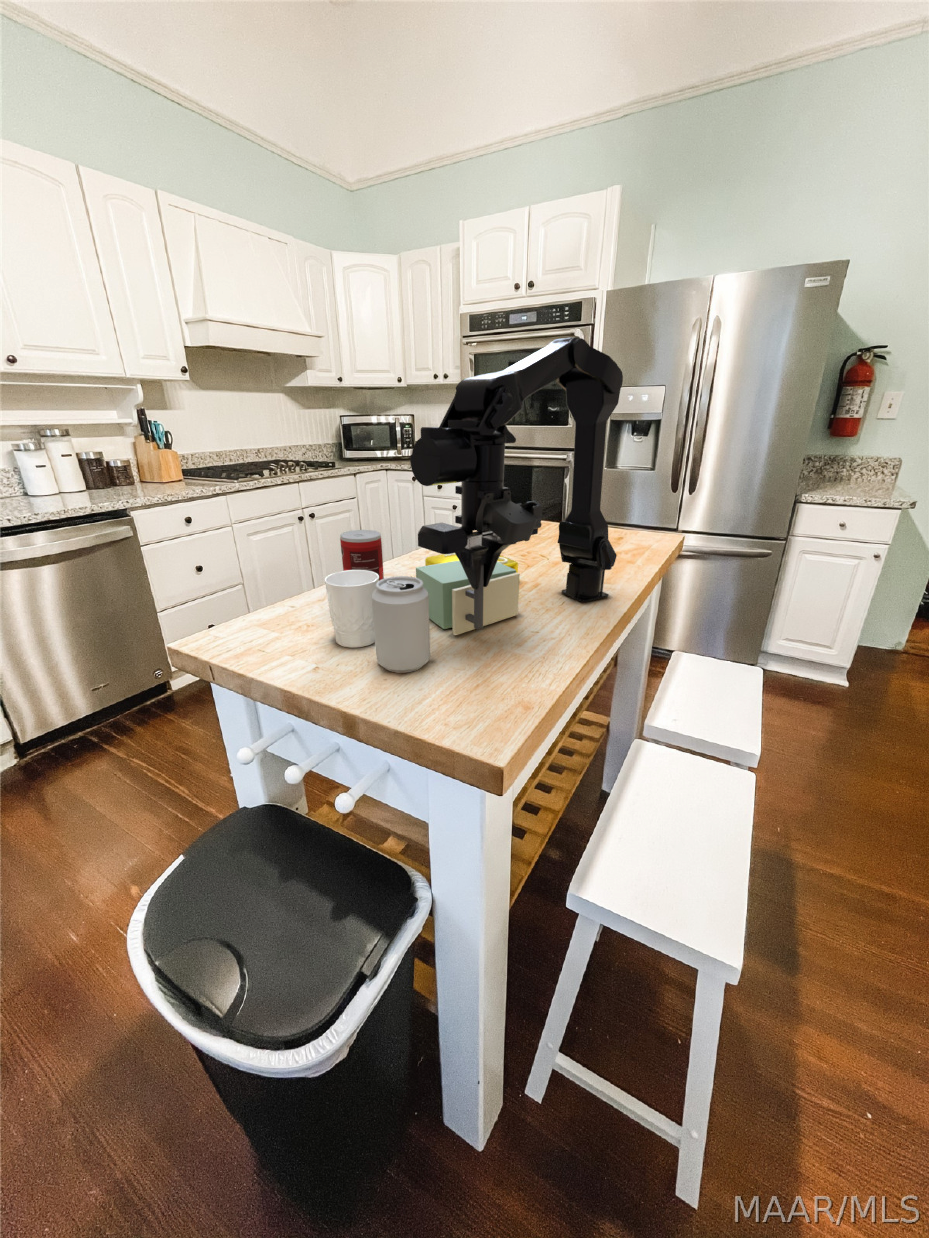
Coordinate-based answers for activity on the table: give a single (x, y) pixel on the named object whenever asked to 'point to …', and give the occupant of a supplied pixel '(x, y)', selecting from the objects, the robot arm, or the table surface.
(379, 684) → the table surface
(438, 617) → the mini fridge
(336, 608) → the white cup
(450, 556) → the element tile
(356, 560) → the canned food
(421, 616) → the can
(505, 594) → the fridge door
